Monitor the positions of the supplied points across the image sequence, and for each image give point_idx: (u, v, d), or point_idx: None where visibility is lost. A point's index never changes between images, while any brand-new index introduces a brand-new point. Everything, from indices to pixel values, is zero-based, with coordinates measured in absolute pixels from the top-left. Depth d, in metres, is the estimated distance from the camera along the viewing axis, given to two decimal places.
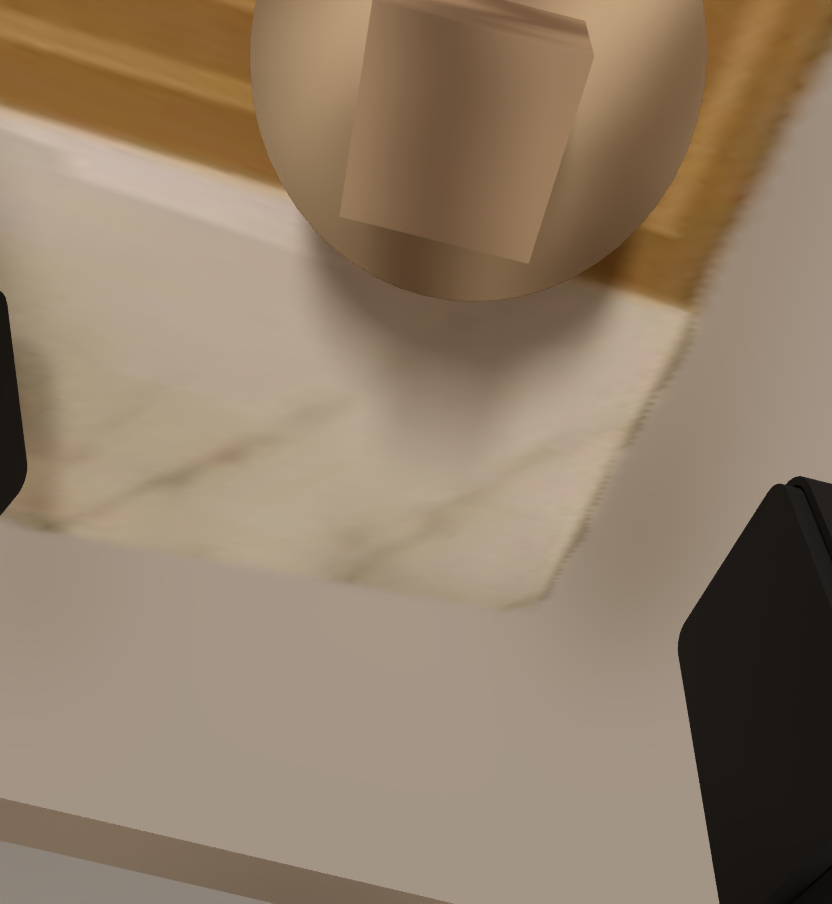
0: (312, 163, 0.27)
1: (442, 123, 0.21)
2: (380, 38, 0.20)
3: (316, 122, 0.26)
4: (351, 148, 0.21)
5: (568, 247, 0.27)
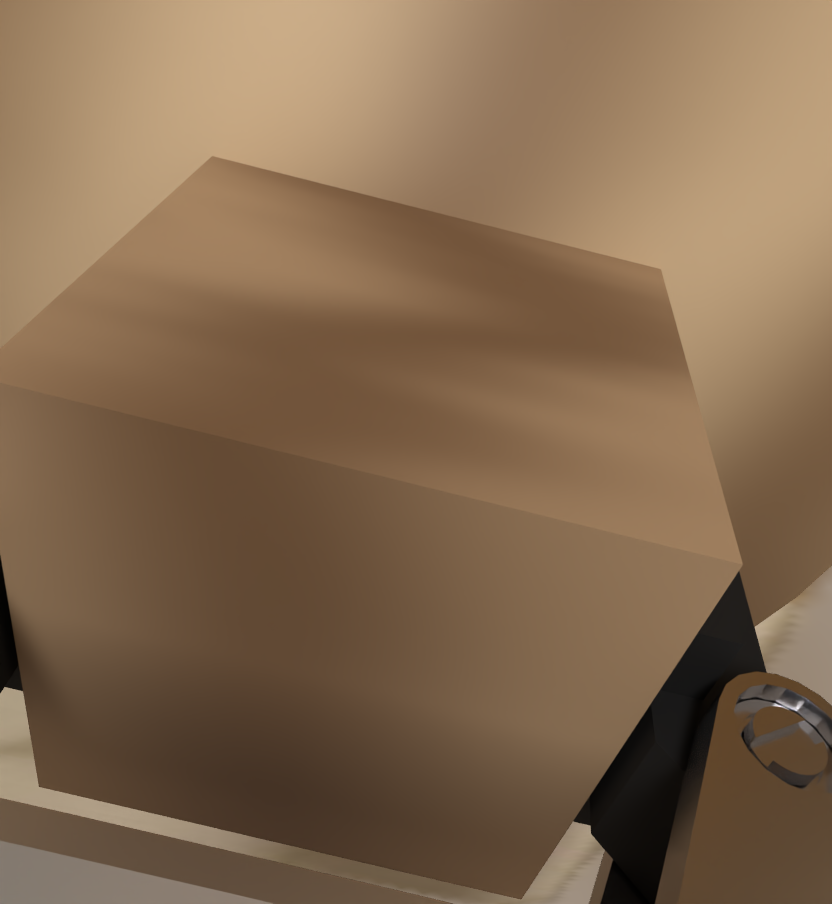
0: None
1: (264, 662, 0.07)
2: (28, 473, 0.06)
3: None
4: (27, 683, 0.08)
5: None
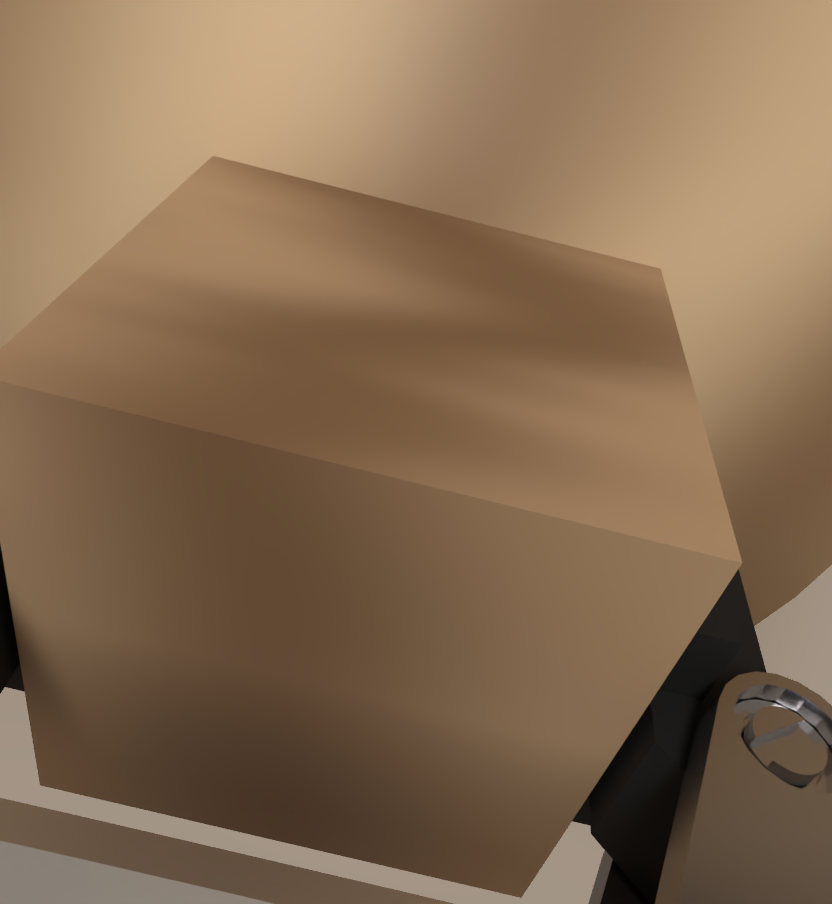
0: None
1: (265, 661, 0.07)
2: (31, 470, 0.06)
3: None
4: (28, 681, 0.08)
5: None
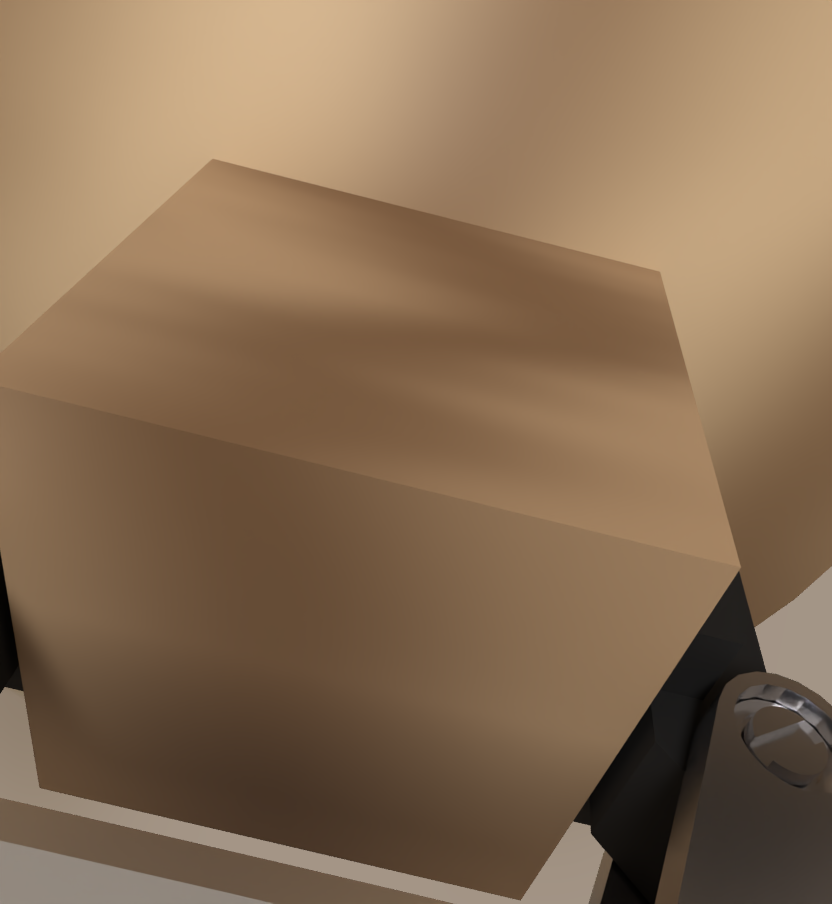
0: None
1: (265, 664, 0.07)
2: (29, 476, 0.06)
3: None
4: (28, 685, 0.08)
5: None
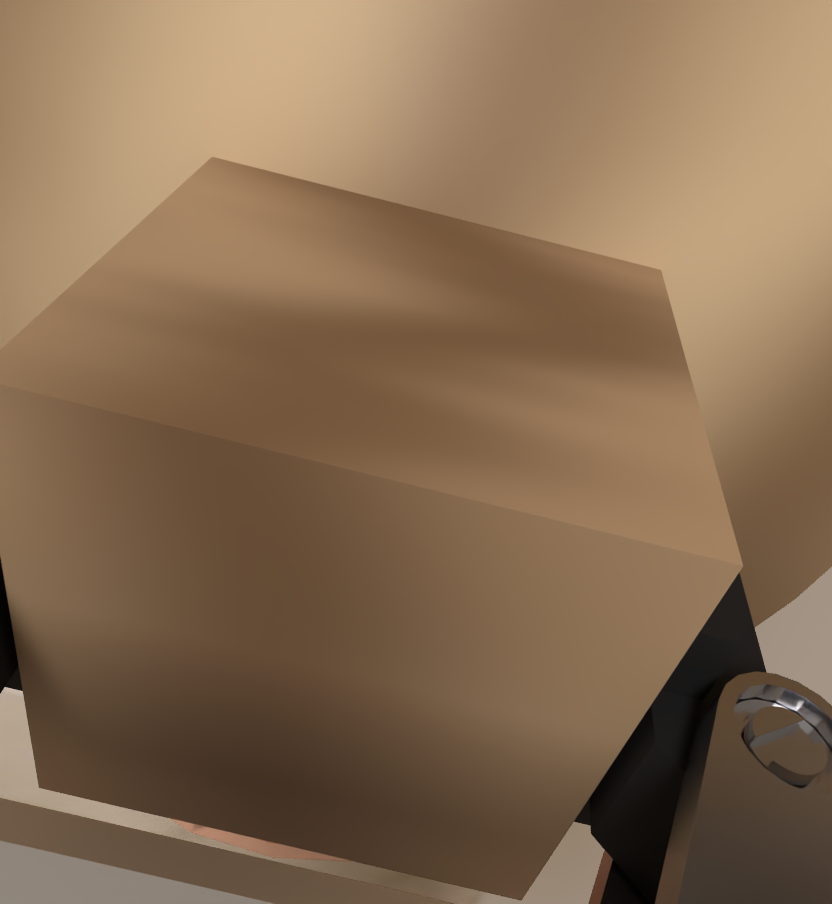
0: None
1: (264, 664, 0.07)
2: (28, 474, 0.06)
3: None
4: (27, 684, 0.08)
5: None
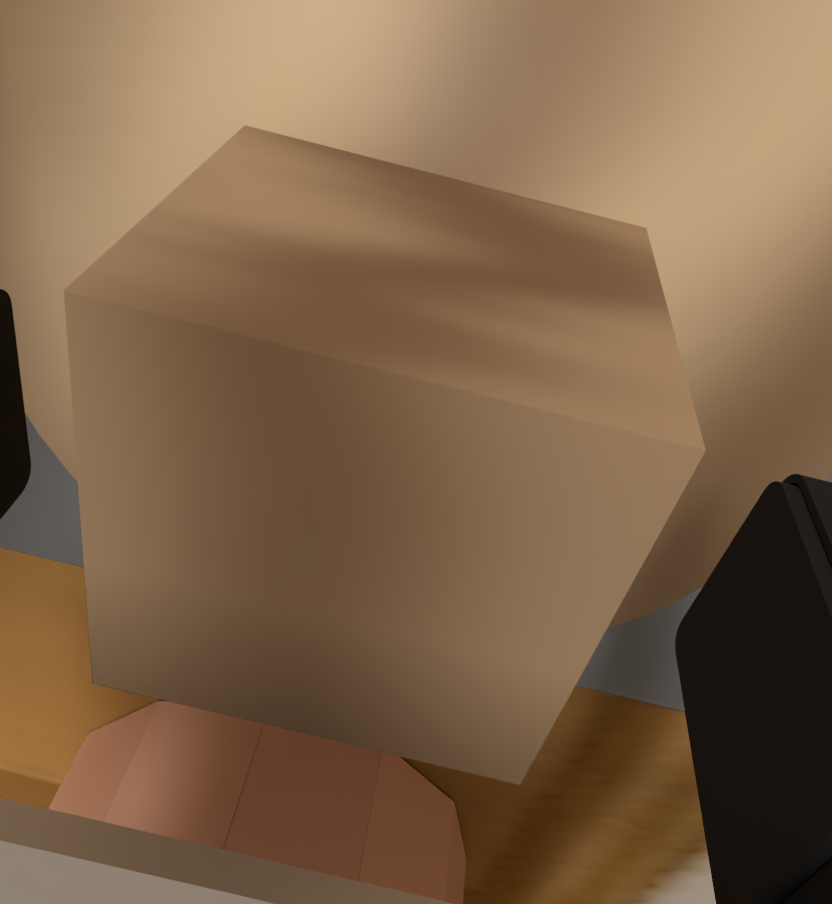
0: None
1: (299, 553, 0.08)
2: (106, 377, 0.07)
3: None
4: (89, 579, 0.09)
5: None
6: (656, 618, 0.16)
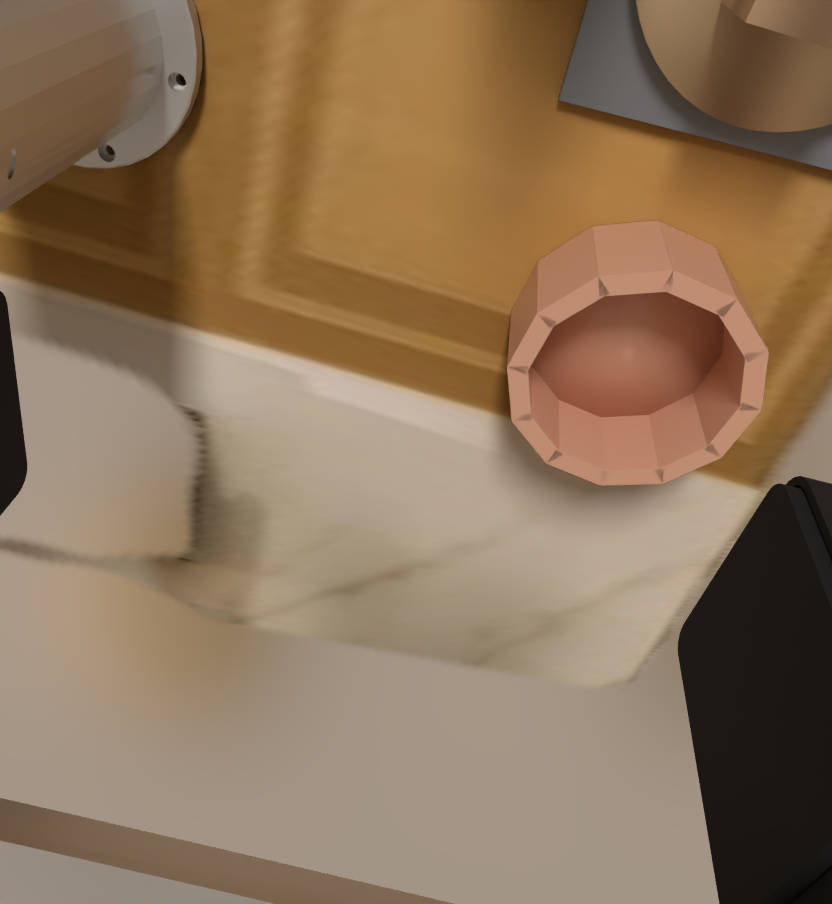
0: (671, 2, 0.33)
1: None
2: None
3: None
4: None
5: None
6: None
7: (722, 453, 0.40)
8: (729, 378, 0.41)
